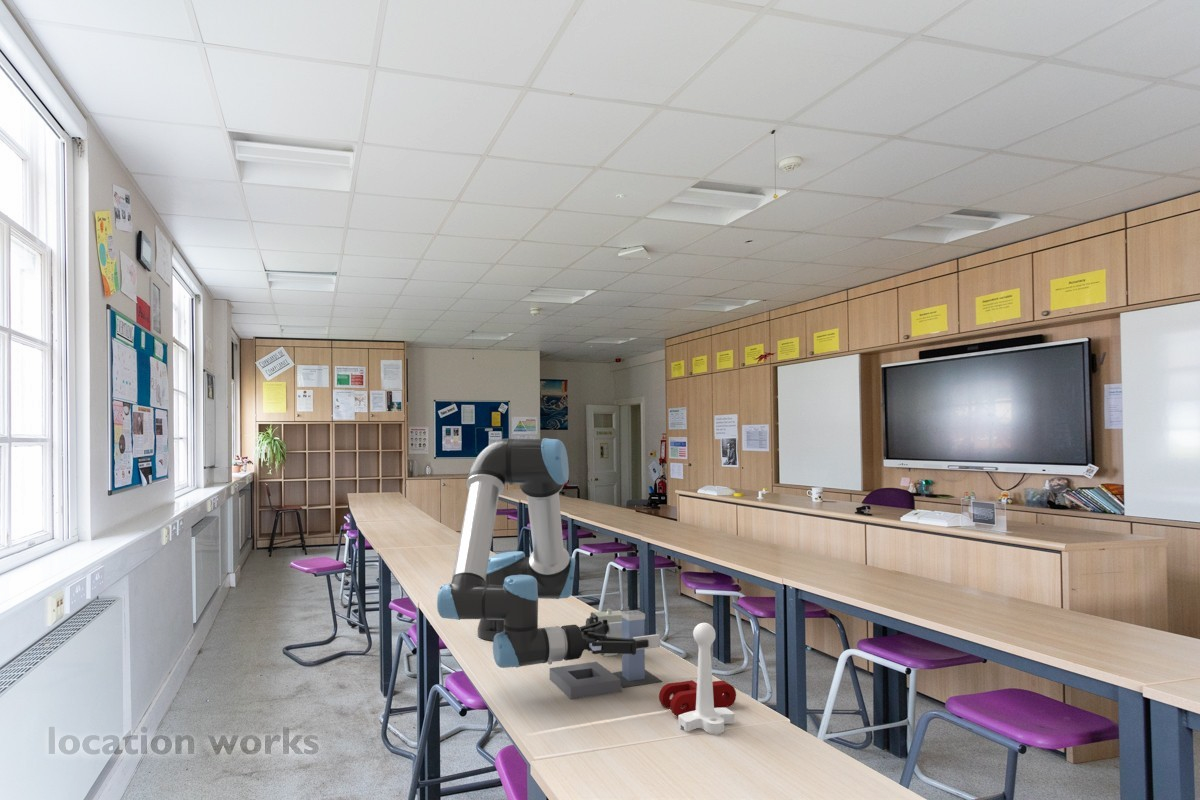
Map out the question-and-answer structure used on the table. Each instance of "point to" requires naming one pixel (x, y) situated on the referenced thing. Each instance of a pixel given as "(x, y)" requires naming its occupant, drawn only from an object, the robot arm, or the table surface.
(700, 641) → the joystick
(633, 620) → the plug
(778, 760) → the table surface
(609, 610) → the pneumatic valve
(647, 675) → the mat
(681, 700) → the mechanical linkage
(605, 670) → the socket
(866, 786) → the table surface
